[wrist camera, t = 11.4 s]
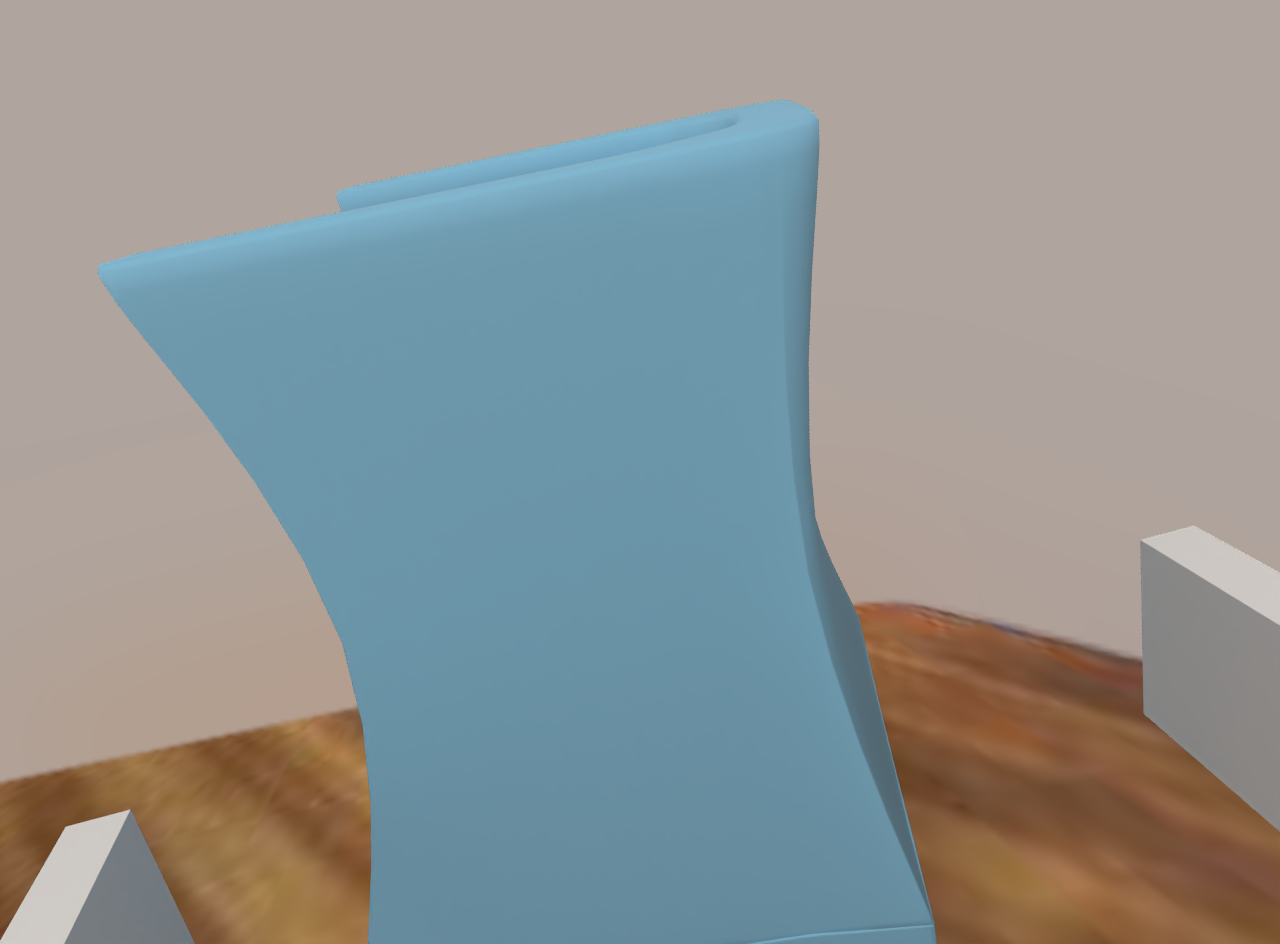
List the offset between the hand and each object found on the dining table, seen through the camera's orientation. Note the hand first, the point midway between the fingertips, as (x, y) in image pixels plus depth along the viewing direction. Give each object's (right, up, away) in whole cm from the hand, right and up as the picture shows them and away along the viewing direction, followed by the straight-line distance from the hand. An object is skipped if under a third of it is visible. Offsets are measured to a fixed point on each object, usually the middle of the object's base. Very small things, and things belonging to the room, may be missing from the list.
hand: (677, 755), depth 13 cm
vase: (+2, -11, +8) cm, 13 cm away
